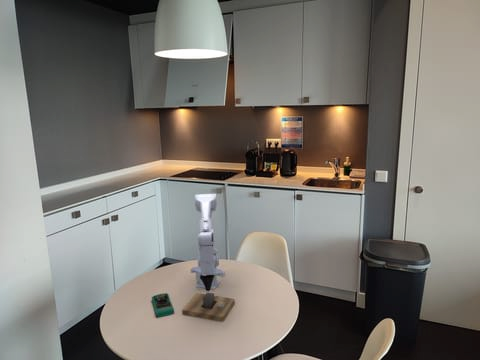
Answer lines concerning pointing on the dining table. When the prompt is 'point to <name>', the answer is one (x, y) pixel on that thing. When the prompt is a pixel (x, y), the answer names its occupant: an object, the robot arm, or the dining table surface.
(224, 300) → the socket board
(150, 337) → the dining table surface
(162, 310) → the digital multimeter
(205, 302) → the grey block
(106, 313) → the dining table surface
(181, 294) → the dining table surface
